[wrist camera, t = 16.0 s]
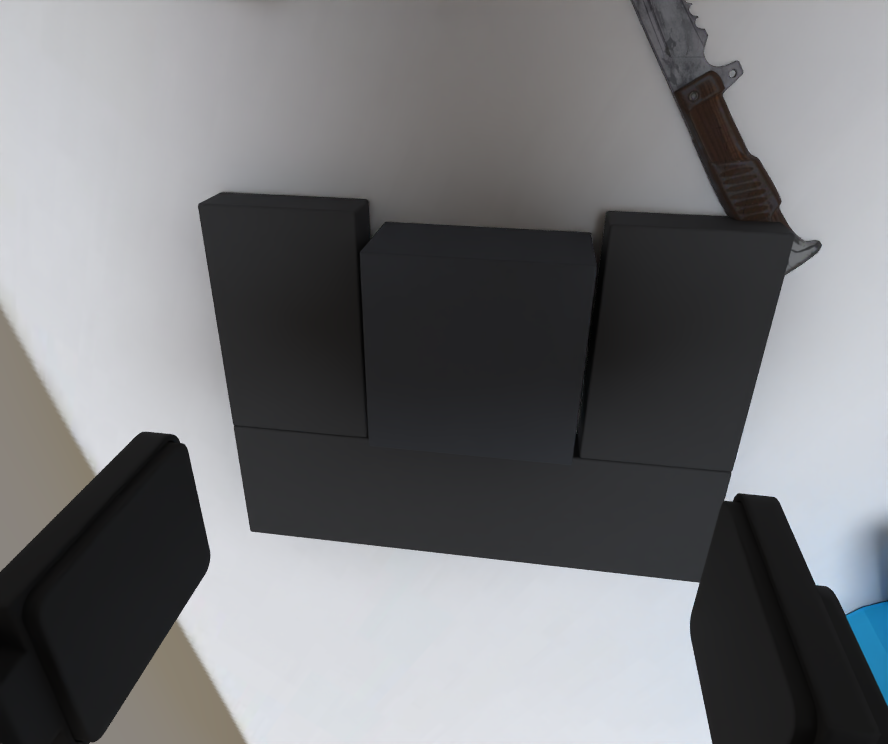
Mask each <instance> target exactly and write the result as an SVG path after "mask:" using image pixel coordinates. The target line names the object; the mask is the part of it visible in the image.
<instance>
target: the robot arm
mask: <svg viewBox="0 0 888 744" xmlns="http://www.w3.org/2000/svg"><path fill="white" fill-rule="evenodd" d="M209 563H210V549H209V545H208V540H207V535H206V531H205V526H204V522H203V517H202V512H201V508H200V503H199V499H198V494H197V490H196V485H195V480H194V476H193V471H192V467H191V462H190V458H189V453H188V449H187V447H186V446H185V444H182V443H180V441H179V439H178V438H177V436H175V435H172V434H163V433H154V432H141V433H140V434H138V435H137V436H136V437H135V438H134V439H133V440H132V441H131V442H130V443H129V444H128V445H127V446H126V447H125V448H124V449H123V450H122V451H121V452H120V453H119V454H118V455H117V456H116V457H115V458H114V459H113V460H112V461H111V462H110V463H109V464H108V465H107V466H106V467H105V468H104V469H103V470H102V471H101V472H100V473H99V474H98V475H97V476H96V477H95V478H94V479H93V480H92V481H91V482H90V483H89V484H88V485H87V486H86V487H85V488H84V489H83V490H82V491H81V492H80V493H79V494H78V495H77V496H76V497H75V498H74V499H73V500H72V501H71V502H70V503H69V504H68V505H67V506H66V507H65V508H64V509H63V510H62V511H61V512H60V513H59V514H58V515H57V516H56V517H55V518H54V519H53V520H52V521H51V522H50V523H49V524H48V525H47V526H46V527H45V528H44V529H43V530H42V531H41V532H40V533H39V534H38V535H37V536H36V537H35V538H34V539H33V540H32V541H31V542H30V543H29V544H28V545H27V546H26V547H25V548H24V549H23V550H22V551H21V552H20V553H19V554H18V555H17V556H16V557H15V558H14V559H13V560H12V561H11V562H10V563H9V564H8V565H7V566H6V567H5V568H4V569H3V570H2V571H1V572H0V744H89V743H90V742H95V741H97V740H98V739H100V738H101V737H102V735H103V734H104V732H105V731H106V730H107V728H108V726H109V725H110V723H111V722H112V720H113V719H114V717H115V715H116V714H117V712H118V711H119V709H120V708H121V706H122V704H123V703H124V701H125V700H126V698H127V697H128V695H129V693H130V692H131V690H132V689H133V687H134V685H135V684H136V682H137V681H138V679H139V678H140V676H141V674H142V673H143V671H144V670H145V668H146V666H147V665H148V663H149V662H150V660H151V659H152V657H153V655H154V654H155V652H156V651H157V649H158V648H159V646H160V645H161V643H162V641H163V640H164V638H165V637H166V635H167V633H168V632H169V630H170V629H171V627H172V625H173V624H174V622H175V621H176V619H177V618H178V616H179V615H180V613H181V611H182V610H183V608H184V607H185V605H186V604H187V602H188V600H189V599H190V597H191V596H192V594H193V592H194V591H195V589H196V588H197V586H198V585H199V583H200V581H201V580H202V578H203V577H204V575H205V573H206V572H207V569H208V567H209ZM690 634H691V641H692V645H693V650H694V655H695V660H696V665H697V670H698V675H699V680H700V685H701V690H702V695H703V700H704V704H705V709H706V714H707V719H708V724H709V729H710V734H711V739H712V744H888V706H887V703H886V701H885V699H884V697H883V695H882V693H881V691H880V688H879V686H878V684H877V682H876V680H875V678H874V675H873V673H872V671H871V669H870V667H869V665H868V663H867V660H866V658H865V656H864V654H863V652H862V650H861V648H860V645H859V643H858V641H857V639H856V637H855V635H854V633H853V630H852V628H851V626H850V624H849V622H848V620H847V618H846V615H845V613H844V611H843V609H842V607H841V605H840V603H839V600H838V599H837V597H836V595H835V594H834V592H833V591H832V590H831V589H830V588H828V587H826V586H818V585H815V583H814V580H813V578H812V576H811V573H810V571H809V569H808V567H807V564H806V562H805V560H804V558H803V555H802V553H801V551H800V548H799V546H798V544H797V542H796V539H795V537H794V535H793V532H792V530H791V528H790V526H789V523H788V521H787V519H786V516H785V514H784V512H783V510H782V507H781V505H780V503H779V501H778V500H777V499H776V498H775V497H769V496H759V495H750V494H740V493H739V494H737V495H736V496H735V497H734V500H733V502H731V501H724V502H723V503H722V505H721V508H720V511H719V515H718V519H717V522H716V526H715V530H714V533H713V537H712V540H711V544H710V548H709V551H708V555H707V559H706V562H705V566H704V569H703V573H702V577H701V580H700V584H699V588H698V591H697V595H696V599H695V602H694V606H693V609H692V613H691V619H690Z"/></svg>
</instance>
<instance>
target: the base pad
mask: <svg viewBox="0 0 888 744" xmlns="http://www.w3.org/2000/svg"><path fill="white" fill-rule="evenodd" d="M198 209H199V215H200V221H201V227H202V234H203V240H204V246H205V252H206V258H207V265H208V271H209V277H210V283H211V289H212V296H213V302H214V308H215V314H216V320H217V327H218V333H219V339H220V345H221V351H222V358H223V364H224V370H225V376H226V382H227V388H228V395H229V401H230V407H231V413H232V419H233V424H234V432H235V438H236V444H237V450H238V456H239V463H240V469H241V475H242V481H243V487H244V494H245V500H246V506H247V512H248V518H249V525H250V530H251V531H252V532H260V533H269V534H278V535H287V536H295V537H304V538H313V539H322V540H330V541H339V542H348V543H357V544H366V545H374V546H383V547H392V548H401V549H409V550H418V551H427V552H436V553H445V554H453V555H462V556H471V557H480V558H489V559H497V560H506V561H515V562H524V563H532V564H541V565H550V566H559V567H568V568H576V569H585V570H594V571H603V572H611V573H620V574H629V575H638V576H647V577H655V578H664V579H673V580H682V581H690V582H699V583H700V580H701V577H702V573H703V569H704V566H705V562H706V559H707V555H708V551H709V548H710V544H711V540H712V537H713V533H714V530H715V526H716V522H717V519H718V515H719V511H720V508H721V505H722V503H723V502H724V499H725V496H726V492H727V488H728V484H729V481H730V477H731V471H732V470H733V466H734V463H735V459H736V455H737V451H738V448H739V444H740V440H741V436H742V433H743V429H744V425H745V421H746V418H747V414H748V410H749V406H750V403H751V399H752V395H753V391H754V388H755V384H756V380H757V376H758V373H759V369H760V365H761V362H762V358H763V354H764V350H765V347H766V343H767V339H768V335H769V332H770V328H771V324H772V320H773V317H774V313H775V309H776V305H777V302H778V298H779V294H780V290H781V287H782V283H783V279H784V275H785V272H786V268H787V264H788V261H789V257H790V253H791V249H792V246H793V242H794V238H795V234H794V233H793V232H792V231H791V230H790V229H788V228H787V227H786V226H785V225H784V224H783V223H781V222H756V221H739V220H735V219H732V218H730V217H722V216H701V215H681V214H660V213H639V212H618V211H608V212H607V213H606V217H605V225H604V232H603V240H602V248H601V256H600V264H599V271H598V279H597V287H596V295H595V303H594V310H593V318H592V326H591V334H590V341H589V349H588V357H587V365H586V373H585V380H584V388H583V396H582V404H581V412H580V419H579V427H578V434H576V437H575V445H574V453H573V461H572V465H564V464H554V463H543V462H533V461H522V460H512V459H501V458H491V457H480V456H469V455H459V454H448V453H438V452H427V451H417V450H406V449H396V448H385V447H375V446H369V436H368V415H367V394H366V373H365V353H364V332H363V311H362V290H361V269H360V252H361V250H362V249H363V248H364V247H365V246H366V245H367V243H368V242H369V241H370V228H369V204H368V200H366V199H347V198H326V197H305V196H284V195H264V194H243V193H222V192H221V193H219V194H217V195H215V196H213V197H211V198H209V199H207V200H205V201H203V202H201V203H199V204H198Z"/></svg>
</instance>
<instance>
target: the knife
mask: <svg viewBox="0 0 888 744" xmlns="http://www.w3.org/2000/svg"><path fill="white" fill-rule="evenodd" d="M631 1H632V4H633V6H634V8H635V11H636V13H637V15H638V17H639V20H640V22H641V24H642V27H643V29H644V31H645V33H646V35H647V38H648V40H649V42H650V44H651V47H652V49H653V51H654V53H655V56H656V58H657V60H658V62H659V64H660V67H661V69H662V71H663V73H664V76H665V78H666V80H667V82H668V84H669V87H670V89H671V91H672V93H673V96H674V98H675V100H676V102H677V104H678V107H679V109H680V111H681V113H682V116H683V118H684V120H685V122H686V124H687V127H688V129H689V131H690V133H691V136H692V138H693V142H694V145H695V147H696V149H697V152H698V154H699V156H700V159H701V161H702V163H703V165H704V168H705V170H706V172H707V174H708V177H709V179H710V181H711V183H712V186H713V188H714V190H715V192H716V194H717V196H718V198H719V200H720V202H721V204H722V206H723V207H724V209H725V211H726V213H727V215H728V216H729V217H730V218H732V219H735V220H739V221H756V222H781V223H783V224H784V225H785V226H786V227H787V228H788V229H790V230H791V231H792V232H793V233H794V231H793V230H792V229H791V228H790V226H789V225H788V223H787V222H786V220H785V218H784V216H783V215H782V213H781V211H780V208H779V206H780V204H781V198H780V196H779V194H778V192H777V190H776V188H775V186H774V184H773V182H772V180H771V178H770V177H769V175H768V173H767V172H766V170H765V168H764V167H763V165H762V163H761V162H760V160H759V159H758V158H757V157H755V156H753V155H751V154H750V153H749V152H748V150H747V148H746V146H745V144H744V142H743V139H742V137H741V135H740V133H739V131H738V129H737V127H736V125H735V123H734V121H733V119H732V116H731V114H730V112H729V109H728V107H727V105H726V102H725V100H724V98H723V92H724V91H725V90H726V89H727V88H728V87H730V86H731V85H732V84H733V83H734V82H735V81H736V80H737V79H738V78H739V77H740V76H741V75H742V74H743V70H742V67H741V65H740V62H739V61H734V62H732V63H730V64H728V65H725V66H721V67H715V66H712V65H710V64H709V63H708V62H707V61H706V59H705V56H704V47H705V44H706V40H707V37H708V34H707V32H706V30H705V29H700V28H698V27H697V26H696V25H695V20H696V19H697V18H698V16H694V15H692V14H691V13H690V12H689V8H690V6H691V5H692V3H688V2H686V1H685V0H631ZM733 69H734V70H735V71H736V75H735V76H734V77H733V78H731V77H730V76H729V72H730V71H731V70H733ZM794 234H795V233H794ZM821 246H822V244H821V243H820V242H819V241H804V240H802V239H801V238H800V237H798V236H797V235H796V234H795V238H794V242H793V246H792V249H791V253H790V257H789V261H788V264H787V268H786V272H785V275H786V274H788V273H789V272H791V271H793V270H794V269H796V268H797V267H799V266H800V265H802V264H803V263H804V262H806V261H807V260H809V259H810V258H811V257H813V256H814V255H815V254H816V253H818V251H819V250H820V248H821Z"/></svg>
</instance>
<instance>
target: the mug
mask: <svg viewBox="0 0 888 744" xmlns="http://www.w3.org/2000/svg"><path fill="white" fill-rule="evenodd" d="M846 618H847V620H848V622H849V624H850V626H851V628H852V630H853V633H854V635H855V637H856V639H857V641H858V643H859V645H860V648H861V650H862V652H863V654H864V656H865V658H866V660H867V663H868V665H869V667H870V669H871V671H872V673H873V675H874V678H875V680H876V682H877V684H878V686H879V688H880V691H881V693H882V695H883V697H884V699H885V701H886V703H887V706H888V601H886V602H882V603H878V604H874V605H870V606H866V607H862V608H860V609H858V610H856V611H854V612H852V613H850V614H848V615H846Z"/></svg>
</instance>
